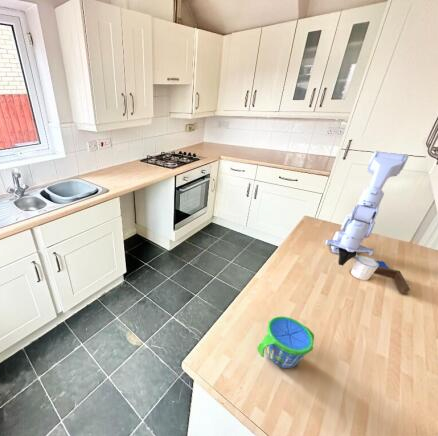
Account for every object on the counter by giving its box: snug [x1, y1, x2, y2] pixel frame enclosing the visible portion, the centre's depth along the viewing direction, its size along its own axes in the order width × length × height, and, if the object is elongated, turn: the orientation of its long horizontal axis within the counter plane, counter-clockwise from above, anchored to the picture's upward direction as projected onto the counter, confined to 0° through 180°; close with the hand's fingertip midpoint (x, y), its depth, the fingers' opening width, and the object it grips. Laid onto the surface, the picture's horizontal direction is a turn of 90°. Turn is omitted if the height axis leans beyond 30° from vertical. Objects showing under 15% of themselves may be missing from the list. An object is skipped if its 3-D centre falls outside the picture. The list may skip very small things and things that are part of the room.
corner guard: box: [373, 266, 411, 296], centre depth 92 cm, size 8×11×3 cm
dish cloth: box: [374, 259, 389, 268], centre depth 100 cm, size 8×7×1 cm
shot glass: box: [351, 255, 379, 281], centre depth 94 cm, size 7×7×7 cm
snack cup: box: [256, 315, 315, 369], centre depth 66 cm, size 16×10×10 cm
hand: (340, 263), depth 98 cm, fingers closed
